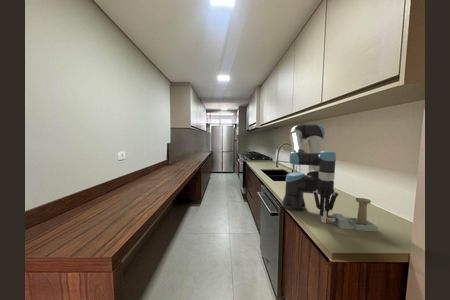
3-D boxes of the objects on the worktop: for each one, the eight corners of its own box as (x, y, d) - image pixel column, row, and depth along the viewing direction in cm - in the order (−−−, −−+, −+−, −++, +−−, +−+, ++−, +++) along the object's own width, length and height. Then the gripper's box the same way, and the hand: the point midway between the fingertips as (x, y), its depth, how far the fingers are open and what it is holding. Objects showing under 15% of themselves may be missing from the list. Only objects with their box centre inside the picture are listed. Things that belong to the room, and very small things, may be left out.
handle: (352, 223, 103) (354, 197, 102) (366, 225, 101) (368, 198, 100) (355, 227, 98) (357, 200, 97) (370, 229, 96) (372, 201, 95)
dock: (331, 220, 105) (332, 212, 105) (365, 222, 104) (365, 214, 104) (341, 229, 96) (341, 220, 95) (377, 231, 94) (378, 222, 94)
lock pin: (324, 221, 102) (324, 215, 102) (337, 222, 102) (337, 216, 102) (327, 224, 99) (327, 218, 99) (340, 224, 99) (341, 219, 99)
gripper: (316, 180, 96) (313, 224, 98) (342, 181, 95) (339, 225, 96) (311, 177, 103) (308, 217, 105) (335, 178, 102) (332, 219, 104)
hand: (323, 221), depth 101 cm, fingers closed
